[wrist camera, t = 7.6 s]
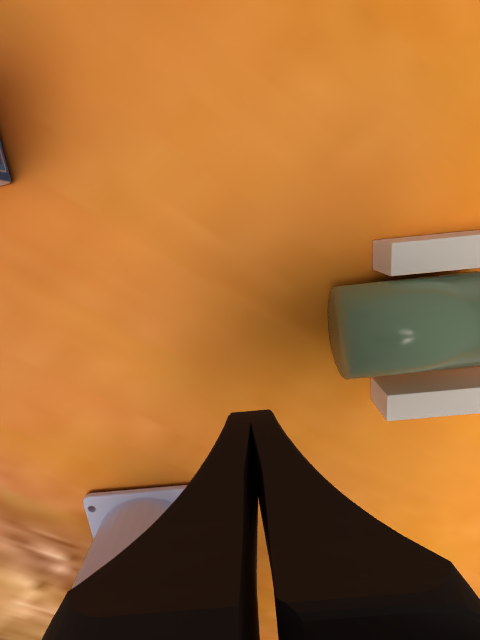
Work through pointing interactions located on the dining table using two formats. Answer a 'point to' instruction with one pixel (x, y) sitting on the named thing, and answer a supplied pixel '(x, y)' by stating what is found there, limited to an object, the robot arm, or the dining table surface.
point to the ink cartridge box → (3, 169)
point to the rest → (430, 386)
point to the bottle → (405, 325)
